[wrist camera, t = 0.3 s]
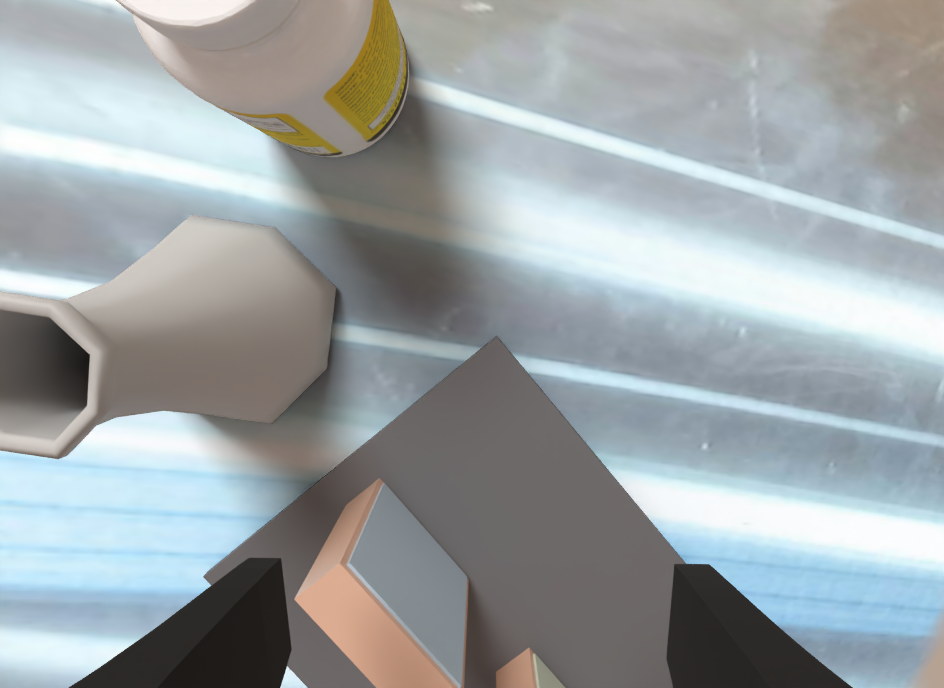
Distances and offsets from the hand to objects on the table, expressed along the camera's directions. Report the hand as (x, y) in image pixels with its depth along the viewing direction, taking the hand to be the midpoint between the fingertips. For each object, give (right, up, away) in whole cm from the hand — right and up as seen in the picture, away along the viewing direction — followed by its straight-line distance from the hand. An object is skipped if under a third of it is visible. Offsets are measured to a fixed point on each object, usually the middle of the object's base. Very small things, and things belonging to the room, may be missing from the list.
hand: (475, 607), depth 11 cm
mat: (+1, -5, +12) cm, 13 cm away
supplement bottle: (-5, +14, +9) cm, 17 cm away
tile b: (-2, -2, +11) cm, 11 cm away
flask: (-8, +6, +10) cm, 15 cm away
